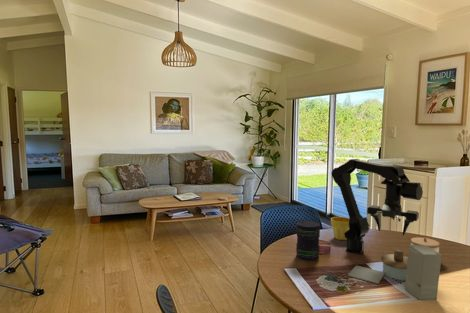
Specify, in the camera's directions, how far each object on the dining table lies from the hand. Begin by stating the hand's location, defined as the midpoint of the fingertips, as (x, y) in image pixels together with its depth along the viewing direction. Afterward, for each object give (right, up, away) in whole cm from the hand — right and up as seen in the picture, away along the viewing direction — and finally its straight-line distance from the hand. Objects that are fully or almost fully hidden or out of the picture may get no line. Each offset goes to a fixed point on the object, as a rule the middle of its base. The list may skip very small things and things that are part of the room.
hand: (391, 233), depth 138 cm
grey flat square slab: (-15, -13, -11) cm, 23 cm away
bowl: (-2, -13, -11) cm, 17 cm away
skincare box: (-2, -15, -26) cm, 30 cm away
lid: (-2, -9, -11) cm, 14 cm away
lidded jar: (+16, -12, +4) cm, 21 cm away
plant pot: (-11, -10, +32) cm, 35 cm away
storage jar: (-33, -12, +6) cm, 36 cm away
